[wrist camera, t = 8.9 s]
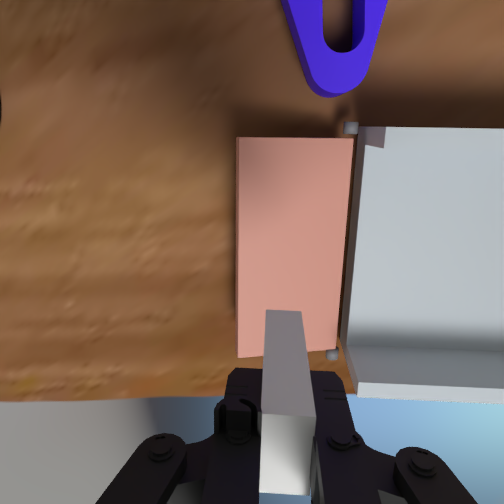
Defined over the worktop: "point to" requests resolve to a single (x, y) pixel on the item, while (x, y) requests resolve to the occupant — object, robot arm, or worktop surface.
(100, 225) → the worktop surface
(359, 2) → the bracket
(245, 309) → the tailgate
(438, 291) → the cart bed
